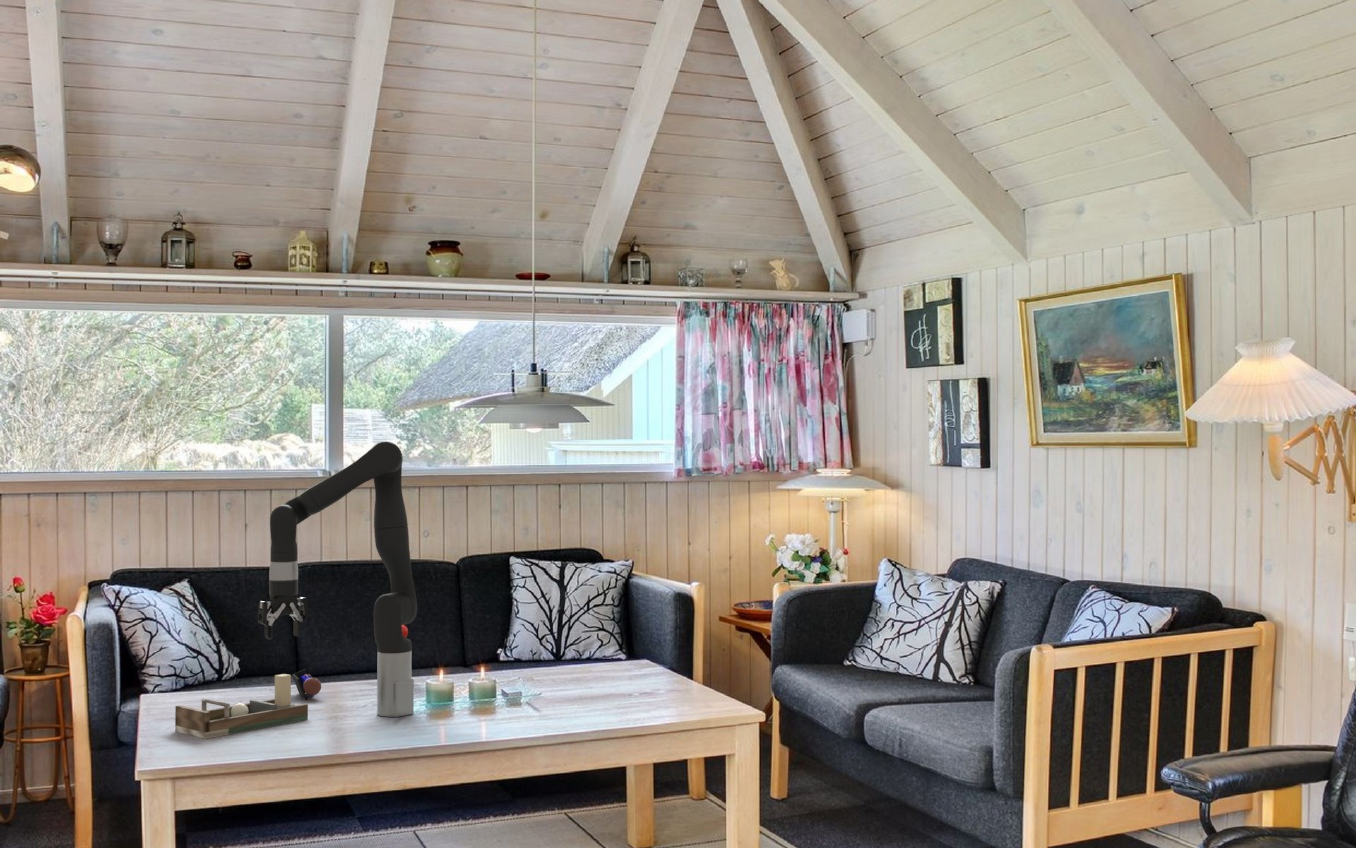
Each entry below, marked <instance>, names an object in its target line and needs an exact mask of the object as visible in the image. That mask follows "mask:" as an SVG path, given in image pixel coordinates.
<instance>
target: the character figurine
mask: <svg viewBox="0 0 1356 848" xmlns="http://www.w3.org/2000/svg"><path fill="white" fill-rule="evenodd" d="M291 679H292V681H294V684H295V687H296V688H297V692H298V694H299V696H300V697H301V698H302V699H303V700H304V701H307V700H308V698H307V695H308V696H310V697H314V696H317V695H318V694H319V693H320V692H321V690H322V683H321V681H320V680H319V679H318V678H316V677H313V676H312V675H311V674H310V673H308V672H307V669H306V668H304V669H302V670H299V671H297V672H294V673H293V674H291Z"/></svg>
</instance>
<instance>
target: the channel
mask: <svg viewBox="0 0 1356 848" xmlns="http://www.w3.org/2000/svg"><path fill="white" fill-rule="evenodd" d="M262 701H263V702H268V703H273V704H275V698H271V699H265V700H262ZM208 704H210V705H215V706H216V705H217V706H220V707H218V708H212V709H208ZM244 704H245V705H246V706H247V707H248V714H246V715H240V716H235V717H232V716H231V709H232V707H233V706H234V705H231V704H230V703H226V702H221V701H218V700H213V699H207V698H202V699H201V709H199V708H193V707H190V706H184V705H179V704H178V705H175V707H174V708H175V712H174V713H175V714H174V715H175V717H174V718H175V723H174V724H175V725H174V726H175V727H174V728H175V729H174V732H177V733H180V734H181V733H182V734H185V735H188V736H191V737H197V738H199V739H200V738H201V739H207V740H208V739H211V738H216V737H221V736H228V735H232V734H238V733H243V732H248V731H253V730H259V729H265V728H269V727H275V726H280V725H284V724H289V723H290V724H291V723H295V722H300V721H306V720H309V719H308V718H309V713H308V712H309V709H308V708H309V705H308V704H307V703H302V704H298V705H296V704H295V705H296V706H291V707H285V708H279V709H274V710H268V711H263V712H257V713H251V712H250V702H249V703H247V702H246V703H244Z"/></svg>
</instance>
